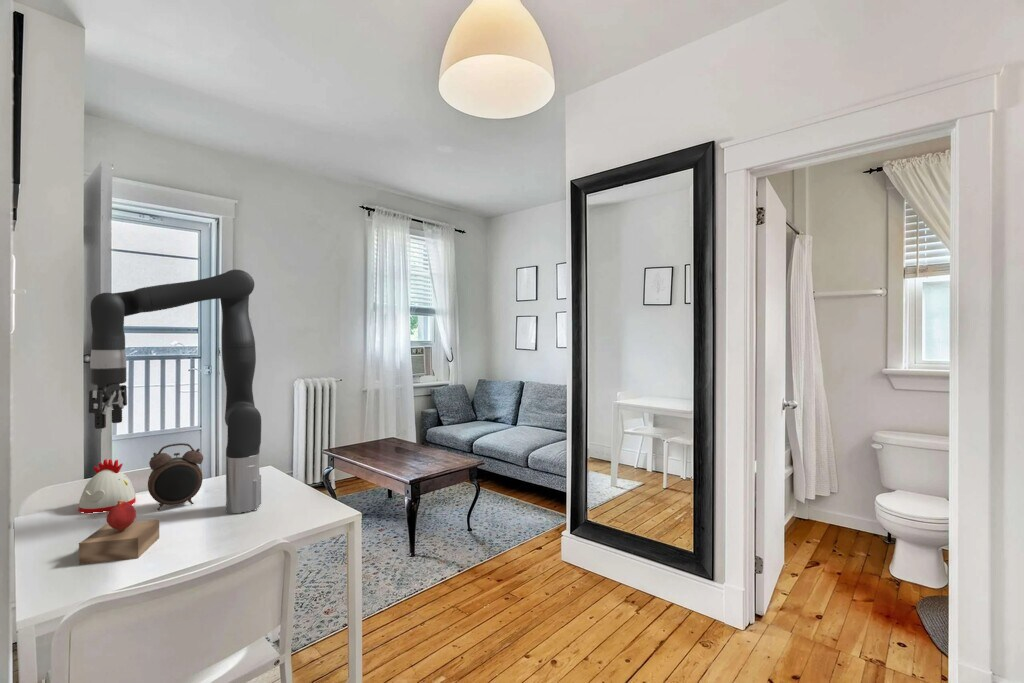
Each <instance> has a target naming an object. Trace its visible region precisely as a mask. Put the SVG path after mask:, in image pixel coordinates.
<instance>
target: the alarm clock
mask: <svg viewBox="0 0 1024 683" xmlns="http://www.w3.org/2000/svg"><path fill="white" fill-rule="evenodd" d="M176 446H177V447H178V446H184V447H185V446H186V447H188V448H189V449H190V450H188V451H186V452H185V453H184V454H183V455H182V457H180V455H181V454H180V452H175V453H173V456H174V457H172V456H171V455H170V454H168V453H166V452H163V450H164V449H167V448H170V447H176ZM178 456H179V457H178ZM203 461H204V456H203V454H202V452H200V448H197V449H196V450H195V449H194V448H193V446H192V445H191V444H189V443H185V442H184V443H183V442H181V443H180V442H179V443H172V444H167V445H164V446H162V447H161V448H160V449H159V450H158V452H153V454H152V457H150V460H149V463H148V464H149V468H150V469H151V470H152V471H151V472H150V475H149V476H148V480H147V489H148V492H149V495H150V496H151V497H152V498H153V500H155V502H157V503H159V504H158V505H159V506H158V508H157V511H160V510H161V508H162V507H163V506H164V505H165V506H177V505H181V504H183V503H186V502H189V503H190V505H191V504H193V505H194V503H195V502H193V501H192V498H194V497H195V496H196V495H197V493H198V492H199V491H200V489H201V488H202V485H203V472H202V469H201V467H200V466H199V465H201V464H202V463H203Z"/></svg>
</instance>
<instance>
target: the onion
mask: <svg viewBox="0 0 1024 683" xmlns="http://www.w3.org/2000/svg"><path fill="white" fill-rule="evenodd" d="M136 518H137V511H136V509H135V507H134V506H133V505H131V504H129V503H126V502H125V501H123V500H119V501H118V504H117V505H115V506H114V507H113V508H112V509H111V510H110V511H109V512H107V515H106V524H108V525H109V526H110V527H112V528H114V529H116V530H118V531H123V530H125V529H126V528H127V527H129V526H130V525H131V524H132V523H133V522H135V520H136Z"/></svg>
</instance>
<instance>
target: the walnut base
mask: <svg viewBox="0 0 1024 683" xmlns="http://www.w3.org/2000/svg"><path fill="white" fill-rule="evenodd" d="M159 539H160V519H153V520H152V519H150V520H140V521H139V520H138V521H134V522H133V523H132V524H131V525H130V526H129V527H127V528H126V529H125V530H123V531H118V530H116V529H114V528H112V527H110V526H109V525H108V523H106V524H104V525H103V526H101V527H100V528H99V529H98V530H97V529H96V531H94V532H93V533H92V534H91V535H89V536H88V537H86V538H85V539H84V540H82V541H81V542H79V543H78V564H79V565H85V564H93V563H95V564H96V563H103V562H106V563H107V562H111V561H112V562H113V561H122V560H132V559H139V558H140V557H141V556H142V555H143V554H144V553H146V552H147V551H148V550H149V549H150V548H151V547H152V545H154V544H155V543H156V542H157V541H158V540H159Z"/></svg>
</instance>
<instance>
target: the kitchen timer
mask: <svg viewBox="0 0 1024 683" xmlns="http://www.w3.org/2000/svg"><path fill="white" fill-rule="evenodd" d="M122 467H123V462H122V463H120V464H119V459H115V460H114V462H113V459H112V458H111V459H103V463H102V462H99V463H98V466H97V465H96V466H94V467H93V469H94V472H95V473H96V474H95V475H93V476H92V477H91V479H90V480H89V481H87V483H86V484H85V486H84V489H83V491H82V493H81V496H80V498H79V503H78V512H79V511H80V512H84V513H93V512H103V511H110V510H111V509H112V508H113V507H114V506H115V505H117V504H118V501H119V500H123V501H125V502H126V503H129V504H131V505H132V504H133V503H134V504H135V503H136V500H137V498H136V491H135V489H134V486H133V484H132V480H131V479H130V478H129V477H128V476H127V475H126V474H125V473H123V472H122V471H121V470H122ZM134 504H133V505H134ZM133 505H132V506H133ZM80 512H79V513H80Z"/></svg>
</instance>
